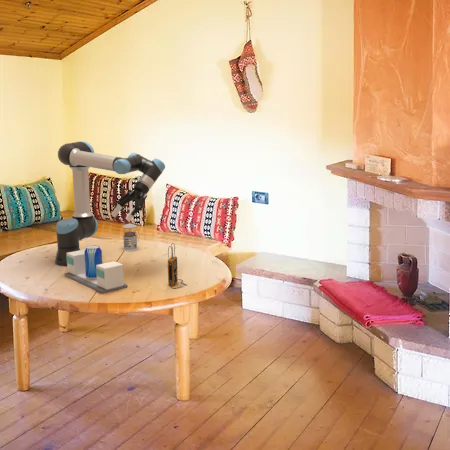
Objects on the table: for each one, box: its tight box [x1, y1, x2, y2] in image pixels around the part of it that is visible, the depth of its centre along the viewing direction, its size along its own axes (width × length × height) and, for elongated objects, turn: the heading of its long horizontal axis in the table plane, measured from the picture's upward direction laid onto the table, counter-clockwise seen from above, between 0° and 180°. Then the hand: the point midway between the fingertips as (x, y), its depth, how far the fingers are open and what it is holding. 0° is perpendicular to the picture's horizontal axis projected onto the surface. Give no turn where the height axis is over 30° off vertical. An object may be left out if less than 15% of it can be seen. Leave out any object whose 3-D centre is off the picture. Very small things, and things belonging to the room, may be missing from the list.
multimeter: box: [167, 243, 189, 289], centre depth 316 cm, size 15×10×20 cm
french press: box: [121, 207, 140, 252], centre depth 380 cm, size 10×12×25 cm
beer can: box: [84, 244, 103, 280], centre depth 322 cm, size 8×8×16 cm
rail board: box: [63, 249, 128, 294], centre depth 322 cm, size 38×14×12 cm, turn 41°
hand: (120, 218), depth 328 cm, fingers open, 13 cm apart
